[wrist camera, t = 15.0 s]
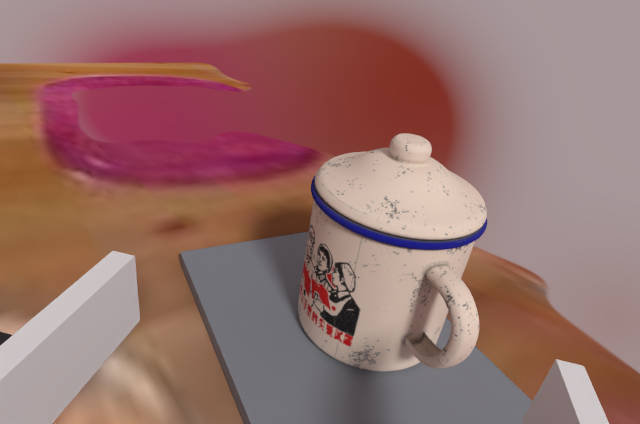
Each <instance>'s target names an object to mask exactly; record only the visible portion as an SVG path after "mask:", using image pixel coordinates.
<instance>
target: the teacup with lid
mask: <svg viewBox="0 0 640 424" xmlns="http://www.w3.org/2000/svg"><path fill="white" fill-rule="evenodd" d="M431 150H432V147H431V144H430V143H429V141H427V140H426V139H425V138H423V137H420V136H417V135H413V134H398V135H396V136H395V137H394V138H393V139H392V140H391V144H390V148H381V149H376V150H372V151H370V152H354V153H348V154H343V155H339V156H337V157H334V158H332V159H330V160H328V161H327V162H325V163H324V164H323V165H322V166H321V167H320V168H319V170H318V171H317V173H316V175H315V176H314V178H313V180H312V184H311V192H312V196H313V198H314V201H313V208H312V214H311V221H310V228H309V234H308V241H307V247H306V254H305V260H304V267H303V273H302V280H301V287H300V293H299V300H298V314H299V319H300V321H301V324H302V326H303V328H304V330H305V332H306V333H307V335H308V336H309V338H310V339H311V340H312V341H313V342H314V343H315V344H316V345H317V346H318V347H319V348H320V349H321V350H323V351H324V352H325V353H327V354H328V355H330V356H331V357H333V358H335V359H336V360H338V361H340V362H342V363H345V364H347V365H350V366H353V367H356V368H360V369H364V370H370V371H379V372H387V371H397V370H402V369H406V368H409V367H412V366H414V365H416V364H418V363H420V362H422V363H423V364H424V365H426V366H428V367H431V368H436V369H441V368H447V367H451V366H455V365H457V364H459V363H461V362H462V361H464V360H465V359H466V358H467V357H468V356H469V355H470V353H471V352H472V350H473V349H474V346H475V344H476V341H477V338H478V334H479V317H478V312H477V308H476V305H475V302H474V299H473V297H472V295H471V293H470V291H469V289H468V288H467V286H466V285H465V284H464V282H463V281H462V280H461V277H462V274H463V272H464V269H465V267H466V264H467V261H468V259H469V256H470V253H471V251H472V248H473V246H474V243H475V240H477V239H478V238H479V237H480V236H481V235H482V234H483V233H484V231H485V229H486V226H487V210H486V206H485V203H484V200H483V198H482V197H481V195H480V194H479V192H478V191H477V190H476V189H475V188H474V187H473V186H472V185H471V184H469V183H468V182H467V181H465V180H464V179H462V178H461V177H459V176H458V175H456V174H454V173H452V172H450V171H448V170H447V169H446V168H445V167H444V166H443V165H441V164H440V163H439V162H437V161H436V160H434V159H433V158H431V157H430V154H431ZM448 311H449V315H450V320H451V331H450V336H449V339H448V342H447V344H446V345H445V347H444V348H443V349H440V348H439V347H437V346H436V343H437V340H438V338H439V335H440V332H441V330H442V327H443V324H444V322H445V319H446V317H447V314H448Z"/></svg>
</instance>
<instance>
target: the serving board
mask: <svg viewBox="0 0 640 424" xmlns="http://www.w3.org/2000/svg"><path fill="white" fill-rule="evenodd" d="M308 234H309V232H303V233H297V234H290V235H284V236H278V237H272V238H265V239H259V240H253V241H247V242H240V243H234V244H228V245H222V246H215V247H209V248H203V249H197V250H190V251H184V252H180V264H181V266H182V269H183V271H184V274H185V276H186V279H187V281H188V284H189V286H190V289H191V291H192V294H193V297H194V299H195V302H196V304H197V307H198V309H199V312H200V314H201V317H202V319H203V322H204V324H205V327H206V329H207V332H208V334H209V337H210V339H211V342H212V344H213V347H214V349H215V352H216V354H217V357H218V359H219V362H220V364H221V367H222V369H223V372H224V374H225V377H226V379H227V382H228V385H229V387H230V390H231V392H232V395H233V397H234V400H235V402H236V405H237V407H238V410H239V412H240V415H241V417H242V420H243V422H244V424H522V419H523V417H524V416H525V414H526V412H527V410H528V409H529V407H530V405H531V403H532V400H530V399H529V398H528V397H527V396H526V395H525V394H524V393H523V392H522V391H521V390H520V389H519V388H518V387H517V386H516V385H515V384H514V383H513V382H512V381H511V380H510V379H509V378H508V377H507V376H506V375H505V374H504V373H503V372H502V371H501V370H499V369H498V368H497V367H496V366H495V365H494V364H493V363H492V362H491V361H490V360H489V359H488V358H487V357H486V356H485V355H484V354H483V353H482V352H481V351H480V350H479V349H478V348H477V347H476V346H474V349H473V350H472V352H471V353H470V355H469V356H468V357H467V358H466V359H465V360H464V361H462V362H461V363H459V364H457V365H455V366H451V367H447V368H441V369H436V368H431V367H428V366H426V365H424V364H423V363H422V362H420V363H418V364H416V365H414V366H412V367H409V368H406V369H402V370H397V371H387V372H379V371H370V370H364V369H360V368H356V367H353V366H350V365H347V364H345V363H342V362H340V361H338V360H336V359H335V358H333V357H331V356H330V355H328V354H327V353H325V352H324V351H323V350H321V349H320V348H319V347H318V346H317V345H316V344H315V343H314V342H313V341H312V340H311V339H310V338H309V336H308V335H307V333H306V332H305V330H304V328H303V326H302V324H301V321H300V319H299V314H298V300H299V293H300V287H301V280H302V273H303V267H304V260H305V254H306V247H307V241H308ZM450 331H451V322H450V321H449V320H448V319H447V318H446V319H445V322H444V324H443V327H442V330H441V332H440V335H439V338H438V340H437V343H436V346H437V347H439V348H440V349H443V348H444V347H445V345H446V344H447V342H448V339H449V336H450Z"/></svg>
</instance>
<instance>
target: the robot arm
mask: <svg viewBox="0 0 640 424" xmlns="http://www.w3.org/2000/svg"><path fill="white" fill-rule="evenodd" d="M139 321H140V313H139V301H138V289H137V277H136V265H135V256H133V255H129V254H125V253H121V252H117V251H112V252H111V253H110V254H108V255H107V256H106V257H105V258H104V259H102V260H101V261H100V262H99V263H98V264H97V265H95V266H94V267H93V268H92V269H91V270H89V271H88V272H87V273H86V274H85V275H83V276H82V277H81V278H80V279H79V280H78V281H76V282H75V283H74V284H73V285H72V286H70V287H69V288H68V289H67V290H66V291H65V292H63V293H62V294H61V295H60V296H59V297H57V298H56V299H55V300H54V301H53V302H51V303H50V304H49V305H48V306H47V307H46V308H44V309H43V310H42V311H41V312H40V313H38V314H37V315H36V316H35V317H34V318H32V319H31V320H30V321H29V322H28V323H27V324H25V325H24V326H23V327H22V328H21V329H19V330H18V331H17V332H16V333H15V334H14V335H10V334H6V333H3V332H0V424H52V423H53V422H54V421H55V420H56V418H57V417H58V416H59V415H60V414H61V413H62V411H63V410H64V409H65V408H66V407H67V406H68V404H69V403H70V402H71V401H72V400H73V398H74V397H75V396H76V395H77V394H78V393H79V391H80V390H81V389H82V388H83V387H84V386H85V384H86V383H87V382H88V381H89V380H90V378H91V377H92V376H93V375H94V374H95V373H96V371H97V370H98V369H99V368H100V367H101V366H102V364H103V363H104V362H105V361H106V360H107V359H108V357H109V356H110V355H111V354H112V353H113V351H114V350H115V349H116V348H117V347H118V346H119V344H120V343H121V342H122V341H123V340H124V339H125V337H126V336H127V335H128V334H129V333H130V332H131V330H132V329H133V328H134V327H135V326H136V324H137V323H138V322H139ZM522 424H609V422H608V420H607V418H606V415H605V413H604V411H603V409H602V406H601V404H600V402H599V400H598V397H597V395H596V393H595V390H594V388H593V386H592V384H591V381H590V379H589V377H588V374H587V372H586V370H585V368H584V366H581V365H577V364H573V363H569V362H565V361H561V360H557V359H556V360H555V362H554V364H553V366H552V367H551V369H550V371H549V373H548V375H547V376H546V378H545V380H544V382H543V384H542V385H541V387H540V389H539V391H538V392H537V394H536V396H535V398H534V400H533V401H532V403H531V405H530V407H529V409H528V410H527V412H526V414H525V416H524V417H523V419H522Z"/></svg>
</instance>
